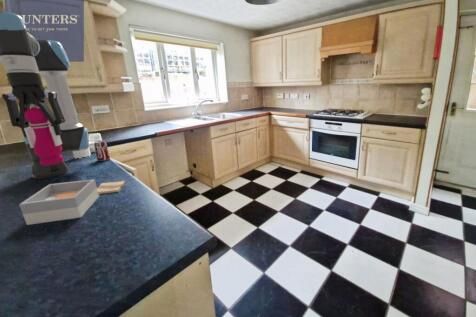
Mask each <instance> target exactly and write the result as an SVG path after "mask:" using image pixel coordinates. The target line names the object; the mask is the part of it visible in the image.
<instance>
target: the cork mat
mask: <svg viewBox="0 0 476 317" xmlns="http://www.w3.org/2000/svg"><path fill="white" fill-rule="evenodd" d="M125 184H126V180H118V181H117V180H116V181H110V182H109V181H108V182H102V183H100V185H99V186H97V190H98V193H99V195H104V194H105V195H106V194H112V193H120V191H121V190H122V188H123V187H124V186H125Z"/></svg>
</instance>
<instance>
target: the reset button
mask: <svg viewBox="0 0 476 317" xmlns="http://www.w3.org/2000/svg"><path fill="white" fill-rule="evenodd" d="M76 194H77V193H69V194H61V195H58V196H56V197H55V198H54V199H58V198H66V197H73V196H74V195H76Z"/></svg>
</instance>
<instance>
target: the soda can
mask: <svg viewBox="0 0 476 317" xmlns="http://www.w3.org/2000/svg"><path fill="white" fill-rule="evenodd" d="M94 143H95V144H94V148H95V152H94V153H95V154H96V160H97V161H99V162H107V161H109V160H110V158H111V156H110V153H109V152H110V151H109V149H108V144H107V143H106V141H105V140H103V139H102V141H96V142H94Z"/></svg>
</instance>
